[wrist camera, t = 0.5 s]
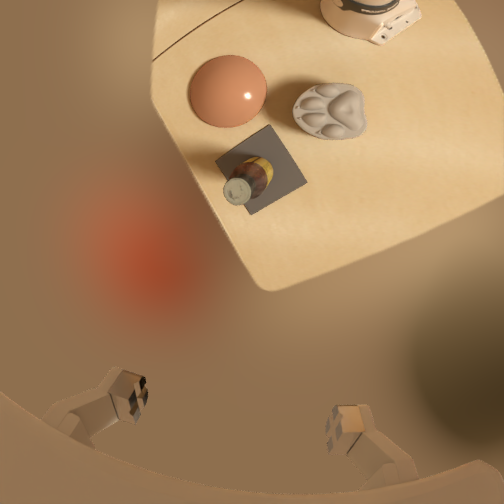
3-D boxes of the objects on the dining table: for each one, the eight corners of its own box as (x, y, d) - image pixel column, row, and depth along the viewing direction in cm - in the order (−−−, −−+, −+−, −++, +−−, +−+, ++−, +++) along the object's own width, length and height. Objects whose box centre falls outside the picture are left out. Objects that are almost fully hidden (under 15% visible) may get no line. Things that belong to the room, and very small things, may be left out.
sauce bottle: (242, 181, 57) (207, 207, 39) (247, 153, 54) (214, 165, 37) (272, 189, 56) (251, 218, 39) (278, 160, 53) (260, 175, 36)
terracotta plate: (238, 43, 44) (237, 41, 43) (282, 99, 48) (281, 99, 47) (179, 87, 51) (177, 86, 50) (218, 142, 55) (216, 142, 54)
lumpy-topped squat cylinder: (362, 138, 48) (370, 139, 40) (298, 141, 51) (295, 142, 44) (356, 88, 44) (363, 80, 36) (291, 91, 47) (287, 84, 40)
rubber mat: (270, 124, 51) (269, 124, 51) (307, 182, 54) (307, 182, 54) (215, 161, 57) (214, 161, 56) (251, 214, 60) (251, 215, 60)
